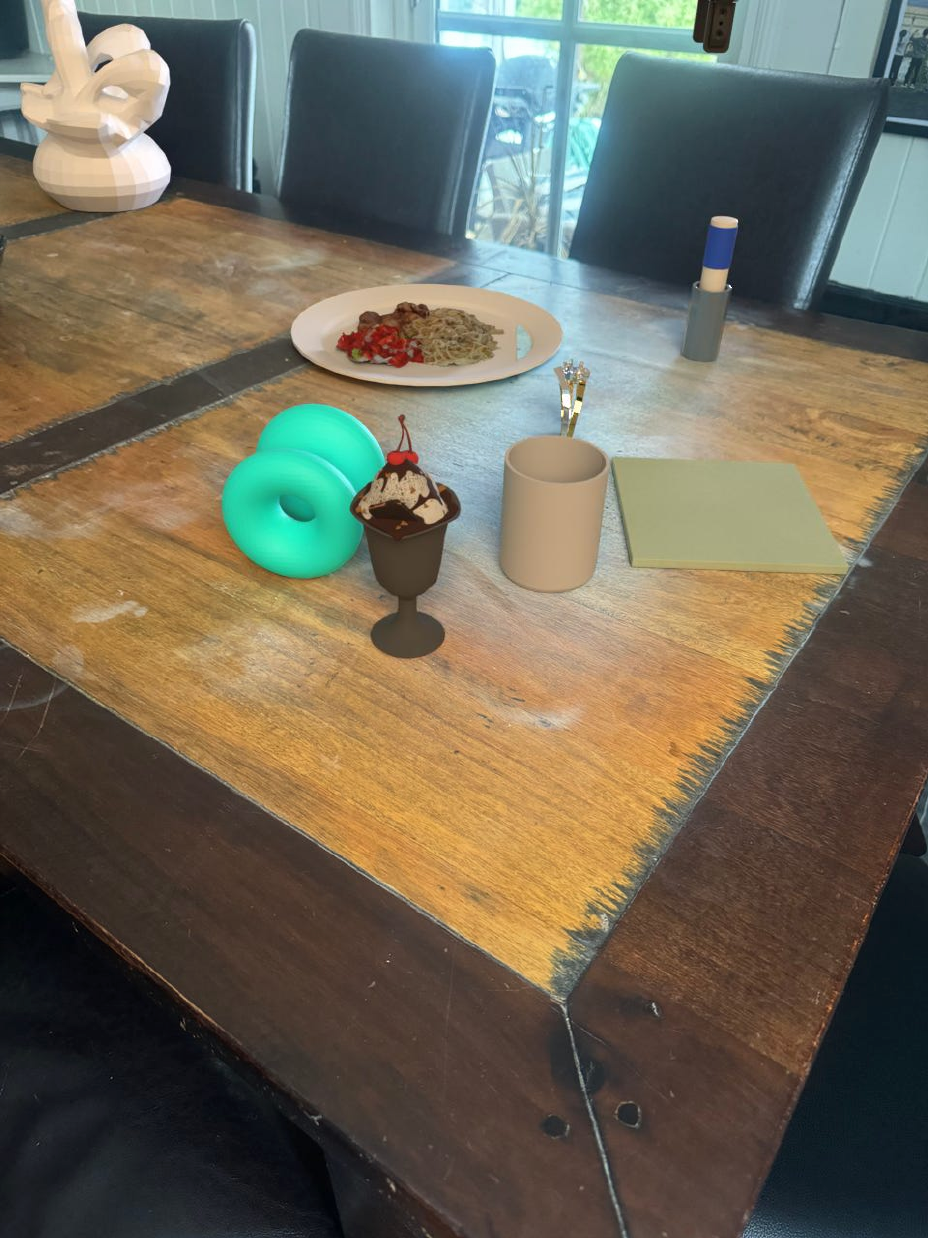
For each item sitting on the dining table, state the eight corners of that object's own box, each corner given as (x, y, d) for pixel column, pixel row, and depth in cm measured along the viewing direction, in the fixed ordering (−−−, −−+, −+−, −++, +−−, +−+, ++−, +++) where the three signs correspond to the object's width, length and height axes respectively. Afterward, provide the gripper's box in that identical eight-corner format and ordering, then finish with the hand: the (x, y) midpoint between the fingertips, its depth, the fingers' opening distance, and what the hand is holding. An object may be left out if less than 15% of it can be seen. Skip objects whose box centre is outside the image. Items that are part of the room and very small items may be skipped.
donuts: (226, 578, 66) (204, 453, 60) (270, 508, 73) (256, 391, 67) (361, 593, 65) (353, 468, 58) (391, 520, 72) (388, 403, 66)
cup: (488, 585, 66) (493, 475, 60) (517, 516, 73) (524, 413, 68) (587, 602, 64) (602, 492, 59) (606, 530, 72) (621, 426, 66)
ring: (580, 466, 80) (589, 380, 75) (543, 463, 80) (551, 377, 75) (583, 431, 86) (592, 349, 81) (548, 428, 86) (556, 346, 81)
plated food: (596, 324, 108) (600, 295, 106) (497, 423, 86) (499, 390, 84) (375, 284, 118) (374, 258, 116) (236, 365, 96) (232, 334, 94)
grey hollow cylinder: (713, 353, 102) (727, 280, 97) (719, 367, 99) (734, 292, 94) (678, 352, 102) (690, 279, 97) (683, 366, 99) (696, 291, 94)
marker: (710, 350, 101) (735, 215, 92) (714, 359, 99) (741, 223, 90) (684, 349, 101) (708, 215, 92) (688, 358, 99) (713, 222, 90)
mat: (792, 471, 80) (794, 462, 80) (846, 575, 68) (849, 566, 67) (611, 464, 81) (612, 456, 80) (631, 567, 68) (632, 558, 67)
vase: (193, 216, 142) (151, -65, 120) (39, 226, 135) (-34, -69, 114) (174, 175, 163) (136, -70, 141) (41, 182, 157) (-21, -74, 135)
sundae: (416, 593, 65) (413, 394, 56) (477, 640, 61) (485, 434, 51) (338, 629, 61) (321, 423, 52) (397, 681, 57) (390, 468, 48)
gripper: (809, -195, 68) (762, 58, 78) (776, -179, 80) (739, 40, 89) (708, -196, 69) (674, 55, 79) (689, -180, 80) (661, 38, 90)
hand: (709, 47), depth 84 cm, fingers open, 8 cm apart
